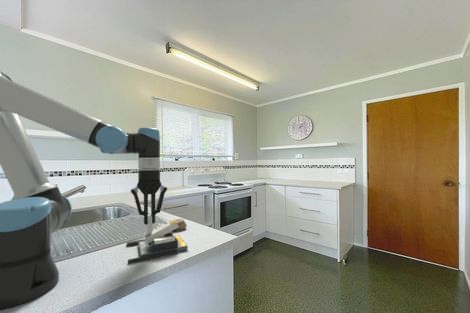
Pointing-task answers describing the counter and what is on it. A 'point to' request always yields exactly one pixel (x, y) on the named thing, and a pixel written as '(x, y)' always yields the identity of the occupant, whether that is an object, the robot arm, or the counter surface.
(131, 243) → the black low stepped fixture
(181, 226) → the stone
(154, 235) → the breaker lever
